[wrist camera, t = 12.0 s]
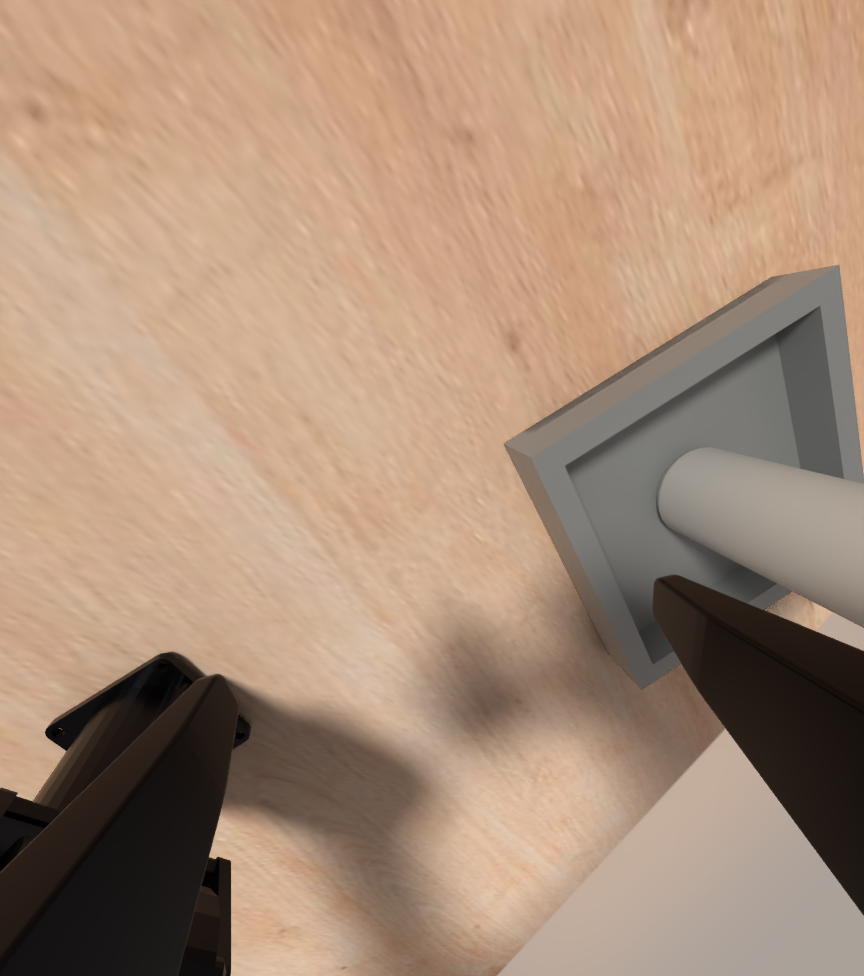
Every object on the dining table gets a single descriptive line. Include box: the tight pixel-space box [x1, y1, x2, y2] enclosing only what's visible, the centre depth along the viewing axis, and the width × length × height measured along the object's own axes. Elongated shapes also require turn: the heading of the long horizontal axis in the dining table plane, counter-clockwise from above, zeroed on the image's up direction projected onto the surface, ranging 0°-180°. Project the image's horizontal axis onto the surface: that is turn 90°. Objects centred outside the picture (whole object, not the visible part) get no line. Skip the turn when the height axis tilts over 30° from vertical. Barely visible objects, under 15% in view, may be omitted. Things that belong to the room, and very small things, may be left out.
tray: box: [504, 265, 864, 690], centre depth 22 cm, size 16×16×3 cm
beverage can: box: [656, 447, 864, 628], centre depth 17 cm, size 5×5×12 cm
